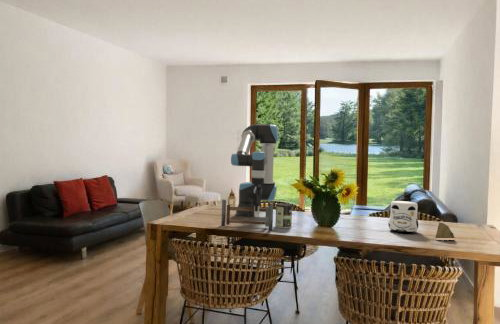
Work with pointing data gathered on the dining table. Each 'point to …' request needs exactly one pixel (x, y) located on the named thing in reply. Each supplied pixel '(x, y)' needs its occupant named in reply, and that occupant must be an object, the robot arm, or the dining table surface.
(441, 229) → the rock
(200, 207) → the dining table surface
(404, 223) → the milk container
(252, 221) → the gate leaf
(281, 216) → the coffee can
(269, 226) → the gate posts
